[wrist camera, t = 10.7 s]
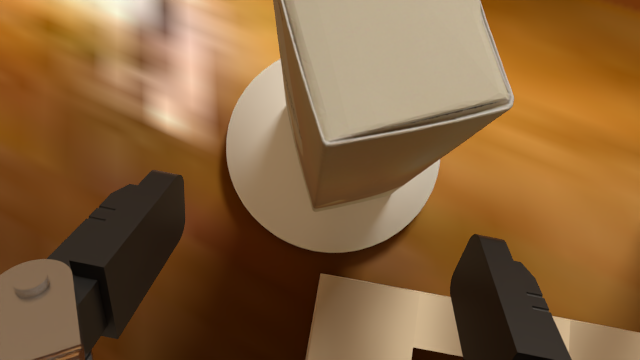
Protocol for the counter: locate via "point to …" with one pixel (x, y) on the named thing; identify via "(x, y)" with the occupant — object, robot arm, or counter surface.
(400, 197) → the dish
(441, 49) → the skincare box
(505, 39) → the counter surface
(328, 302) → the beige flat frame
